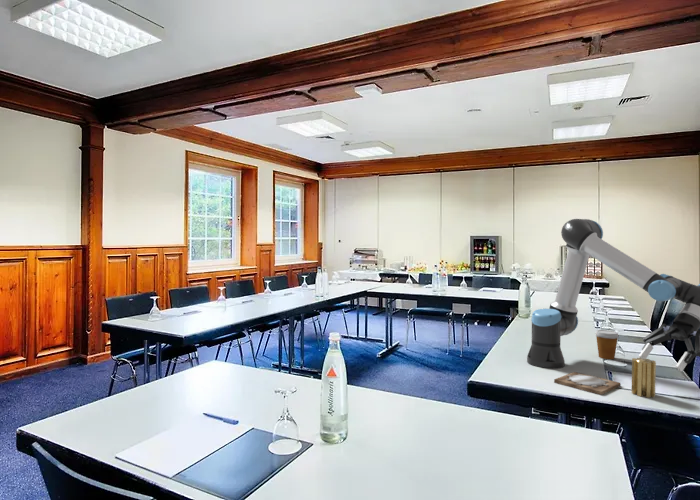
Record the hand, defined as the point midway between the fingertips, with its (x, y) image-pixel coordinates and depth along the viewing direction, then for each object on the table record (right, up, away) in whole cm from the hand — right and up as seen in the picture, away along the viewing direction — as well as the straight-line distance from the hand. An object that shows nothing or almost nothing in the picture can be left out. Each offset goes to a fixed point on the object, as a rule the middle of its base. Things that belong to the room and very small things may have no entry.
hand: (659, 363), depth 157 cm
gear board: (-20, -10, +10) cm, 25 cm away
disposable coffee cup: (+9, -10, +48) cm, 49 cm away
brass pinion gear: (-6, -11, 0) cm, 12 cm away
